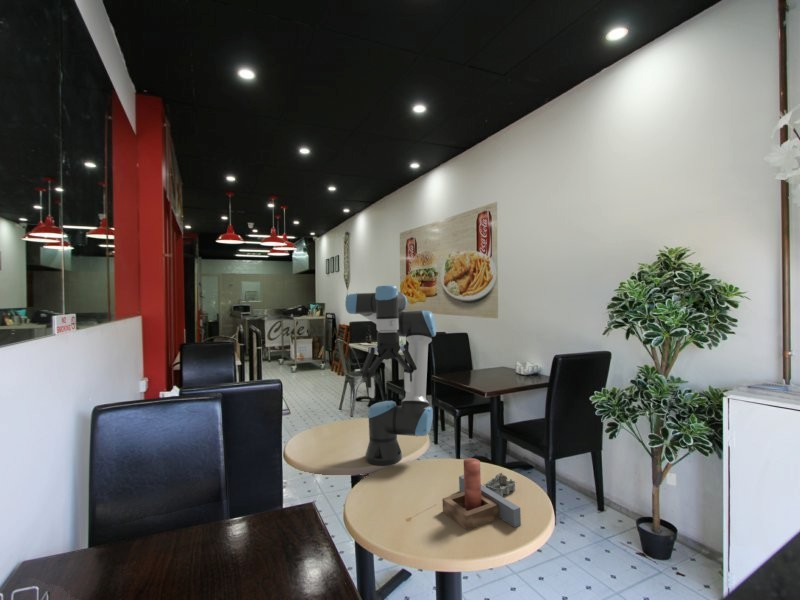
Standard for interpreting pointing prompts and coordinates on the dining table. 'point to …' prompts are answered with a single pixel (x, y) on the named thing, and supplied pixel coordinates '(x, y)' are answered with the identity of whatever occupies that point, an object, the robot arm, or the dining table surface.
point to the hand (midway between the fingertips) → (389, 394)
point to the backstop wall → (499, 504)
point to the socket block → (470, 511)
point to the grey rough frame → (498, 480)
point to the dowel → (472, 483)
